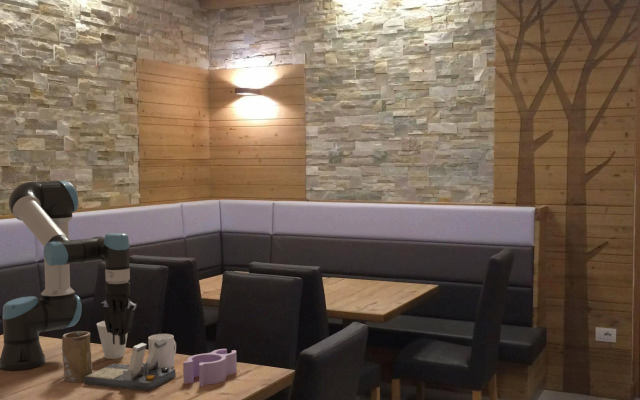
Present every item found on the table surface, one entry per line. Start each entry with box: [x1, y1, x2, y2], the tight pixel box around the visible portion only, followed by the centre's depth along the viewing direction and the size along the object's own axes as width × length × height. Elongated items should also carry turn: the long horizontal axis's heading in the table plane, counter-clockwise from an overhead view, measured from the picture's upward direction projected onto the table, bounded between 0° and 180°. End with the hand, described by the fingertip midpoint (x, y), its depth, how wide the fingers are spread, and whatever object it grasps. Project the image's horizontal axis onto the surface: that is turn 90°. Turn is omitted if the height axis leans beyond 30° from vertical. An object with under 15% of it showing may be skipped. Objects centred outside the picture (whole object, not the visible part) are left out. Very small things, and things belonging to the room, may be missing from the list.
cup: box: [96, 320, 129, 360], centre depth 270 cm, size 12×12×12 cm
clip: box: [182, 348, 238, 387], centre depth 243 cm, size 20×12×7 cm, turn 149°
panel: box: [83, 359, 176, 392], centre depth 240 cm, size 24×17×6 cm
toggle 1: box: [128, 342, 147, 377], centre depth 234 cm, size 2×5×11 cm, turn 161°
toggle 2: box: [144, 339, 167, 369], centre depth 242 cm, size 2×5×11 cm, turn 161°
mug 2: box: [147, 333, 177, 369], centre depth 256 cm, size 9×12×11 cm
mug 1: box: [61, 330, 93, 383], centre depth 243 cm, size 9×13×15 cm
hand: (119, 354), depth 236 cm, fingers closed
